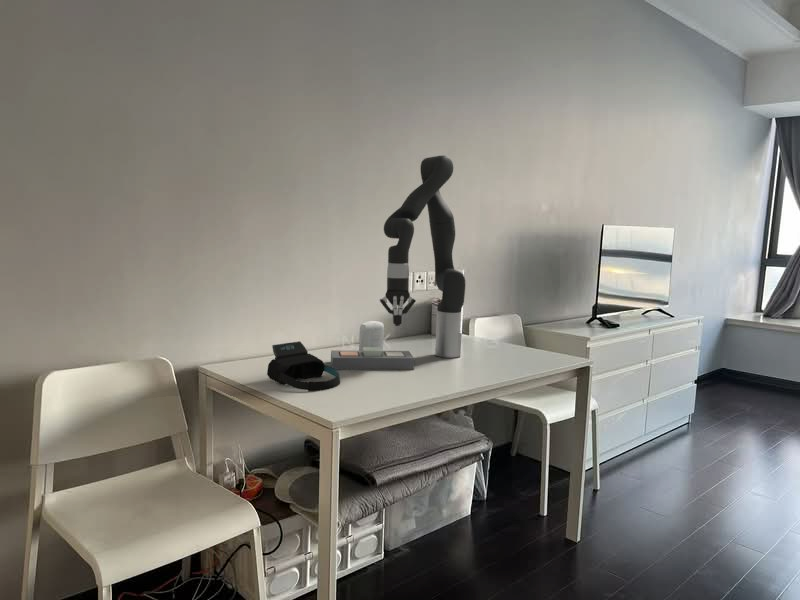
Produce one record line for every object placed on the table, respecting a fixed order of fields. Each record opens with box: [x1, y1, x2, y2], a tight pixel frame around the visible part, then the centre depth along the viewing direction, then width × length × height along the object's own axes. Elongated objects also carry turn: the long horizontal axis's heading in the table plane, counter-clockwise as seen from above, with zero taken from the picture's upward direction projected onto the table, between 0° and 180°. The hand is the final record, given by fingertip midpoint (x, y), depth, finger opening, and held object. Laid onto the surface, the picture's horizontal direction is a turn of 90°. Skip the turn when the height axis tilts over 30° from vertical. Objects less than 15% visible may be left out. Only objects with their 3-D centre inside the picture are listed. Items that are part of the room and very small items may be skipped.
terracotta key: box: [340, 352, 359, 356], centre depth 219 cm, size 6×6×3 cm
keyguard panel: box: [330, 349, 415, 371], centre depth 220 cm, size 28×12×4 cm, turn 99°
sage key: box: [363, 347, 382, 356], centre depth 220 cm, size 6×6×3 cm
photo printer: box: [358, 320, 385, 351], centre depth 240 cm, size 10×4×12 cm, turn 134°
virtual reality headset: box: [266, 340, 341, 392], centre depth 194 cm, size 19×22×10 cm
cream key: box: [385, 352, 404, 357], centre depth 221 cm, size 6×6×3 cm
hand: (397, 325), depth 219 cm, fingers closed
